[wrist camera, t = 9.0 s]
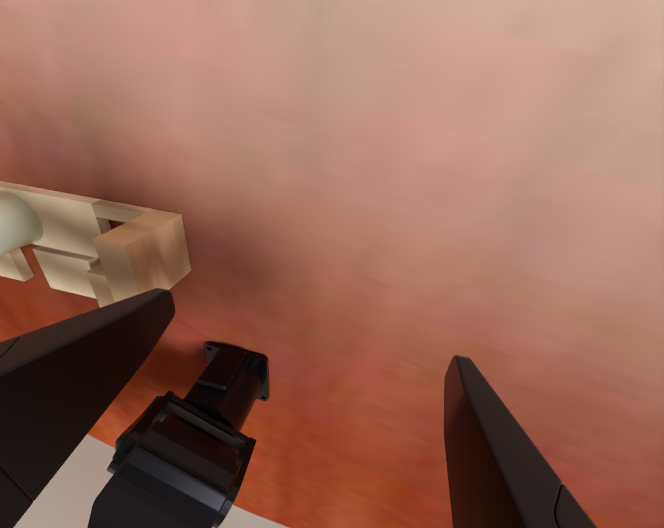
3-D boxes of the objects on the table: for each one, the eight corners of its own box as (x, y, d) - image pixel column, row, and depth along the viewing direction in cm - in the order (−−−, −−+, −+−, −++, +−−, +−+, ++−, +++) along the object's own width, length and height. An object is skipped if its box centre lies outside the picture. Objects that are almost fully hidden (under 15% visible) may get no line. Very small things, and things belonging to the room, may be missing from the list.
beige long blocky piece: (191, 270, 27) (144, 310, 22) (14, 232, 29) (-61, 261, 25) (181, 214, 24) (125, 246, 19) (-14, 178, 27) (-104, 198, 22)
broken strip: (172, 308, 30) (155, 325, 28) (-19, 263, 33) (-47, 275, 31) (163, 270, 27) (143, 285, 25) (-42, 226, 31) (-74, 236, 29)
